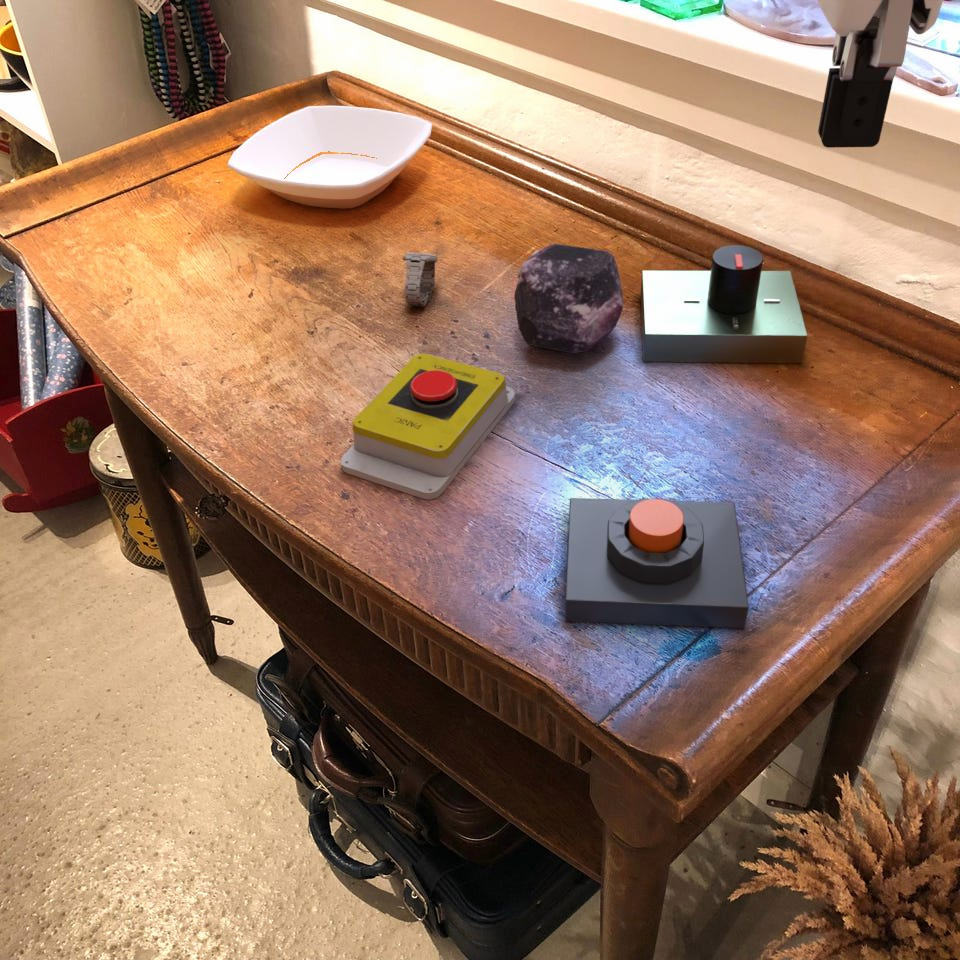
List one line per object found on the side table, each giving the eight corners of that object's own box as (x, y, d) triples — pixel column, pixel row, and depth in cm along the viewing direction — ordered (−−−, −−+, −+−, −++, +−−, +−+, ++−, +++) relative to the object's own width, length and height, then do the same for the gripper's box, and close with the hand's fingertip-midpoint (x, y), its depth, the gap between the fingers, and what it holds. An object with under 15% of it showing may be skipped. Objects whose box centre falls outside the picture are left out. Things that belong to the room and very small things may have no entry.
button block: (731, 523, 72) (737, 484, 69) (744, 628, 65) (752, 589, 62) (569, 518, 74) (570, 479, 71) (565, 621, 66) (565, 582, 63)
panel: (785, 297, 94) (790, 269, 92) (802, 363, 86) (808, 334, 84) (640, 297, 96) (642, 268, 94) (643, 361, 88) (645, 332, 86)
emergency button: (518, 354, 82) (429, 460, 73) (519, 395, 85) (434, 502, 76) (424, 330, 86) (328, 428, 76) (428, 370, 89) (336, 469, 79)
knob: (706, 287, 91) (711, 241, 88) (754, 288, 90) (761, 242, 87) (708, 313, 88) (714, 266, 84) (758, 314, 87) (766, 267, 84)
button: (680, 517, 68) (682, 499, 67) (683, 554, 65) (685, 536, 64) (628, 515, 68) (629, 497, 67) (629, 552, 66) (630, 534, 64)
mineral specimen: (584, 277, 96) (607, 207, 87) (624, 363, 92) (653, 299, 83) (492, 297, 93) (506, 227, 84) (529, 386, 89) (547, 323, 80)
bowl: (456, 159, 122) (453, 117, 118) (371, 239, 108) (365, 195, 104) (310, 138, 129) (303, 98, 126) (213, 210, 115) (202, 168, 112)
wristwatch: (444, 283, 100) (440, 239, 97) (430, 316, 95) (425, 271, 92) (411, 281, 101) (406, 238, 97) (395, 314, 96) (389, 269, 93)
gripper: (817, -258, 51) (767, 94, 63) (874, -216, 40) (799, 200, 52) (967, -266, 50) (886, 92, 62) (1067, -226, 39) (945, 199, 51)
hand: (847, 140), depth 57 cm, fingers closed
